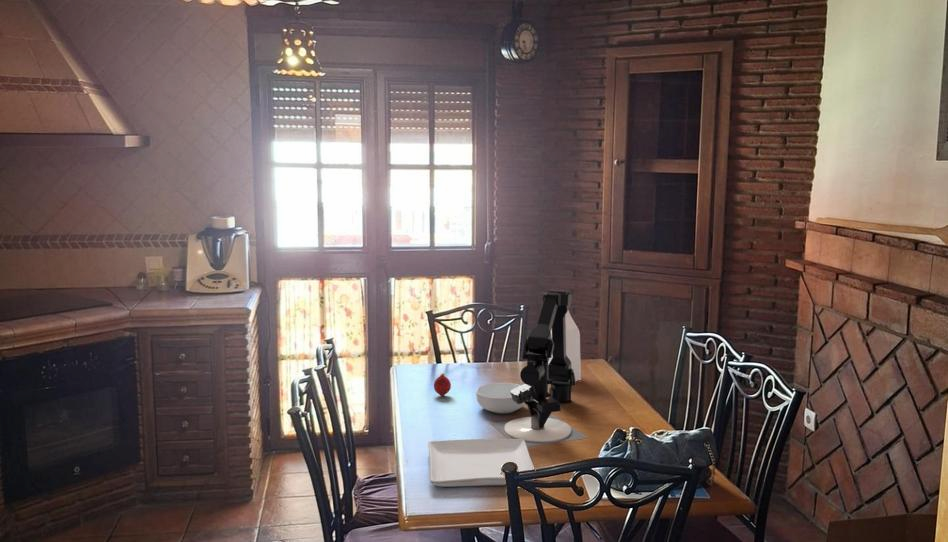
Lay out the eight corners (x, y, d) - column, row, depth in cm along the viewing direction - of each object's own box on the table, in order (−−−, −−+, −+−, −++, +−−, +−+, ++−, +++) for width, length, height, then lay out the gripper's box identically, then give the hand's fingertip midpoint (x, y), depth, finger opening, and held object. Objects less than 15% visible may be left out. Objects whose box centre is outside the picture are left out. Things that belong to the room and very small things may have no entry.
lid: (551, 416, 260) (552, 403, 259) (583, 437, 242) (583, 423, 241) (493, 423, 252) (494, 410, 252) (521, 446, 234) (522, 431, 233)
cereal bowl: (495, 399, 278) (495, 379, 277) (537, 408, 268) (537, 387, 267) (465, 412, 264) (465, 391, 263) (508, 422, 255) (509, 401, 254)
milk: (565, 373, 310) (566, 305, 305) (580, 381, 299) (582, 311, 295) (536, 376, 305) (538, 308, 301) (552, 385, 294) (553, 314, 290)
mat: (553, 415, 261) (553, 414, 261) (587, 439, 241) (587, 437, 241) (489, 424, 253) (489, 423, 253) (520, 449, 233) (520, 447, 233)
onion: (448, 399, 277) (448, 376, 276) (432, 398, 279) (431, 375, 277) (452, 394, 283) (452, 371, 282) (436, 393, 284) (436, 370, 283)
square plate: (427, 452, 231) (427, 439, 231) (524, 450, 233) (524, 437, 233) (429, 493, 204) (429, 478, 204) (538, 490, 206) (538, 476, 206)
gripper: (501, 370, 250) (500, 419, 252) (527, 387, 233) (527, 440, 235) (534, 366, 254) (533, 415, 256) (562, 383, 237) (561, 434, 239)
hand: (537, 425), depth 247 cm, fingers closed on lid, 4 cm apart
